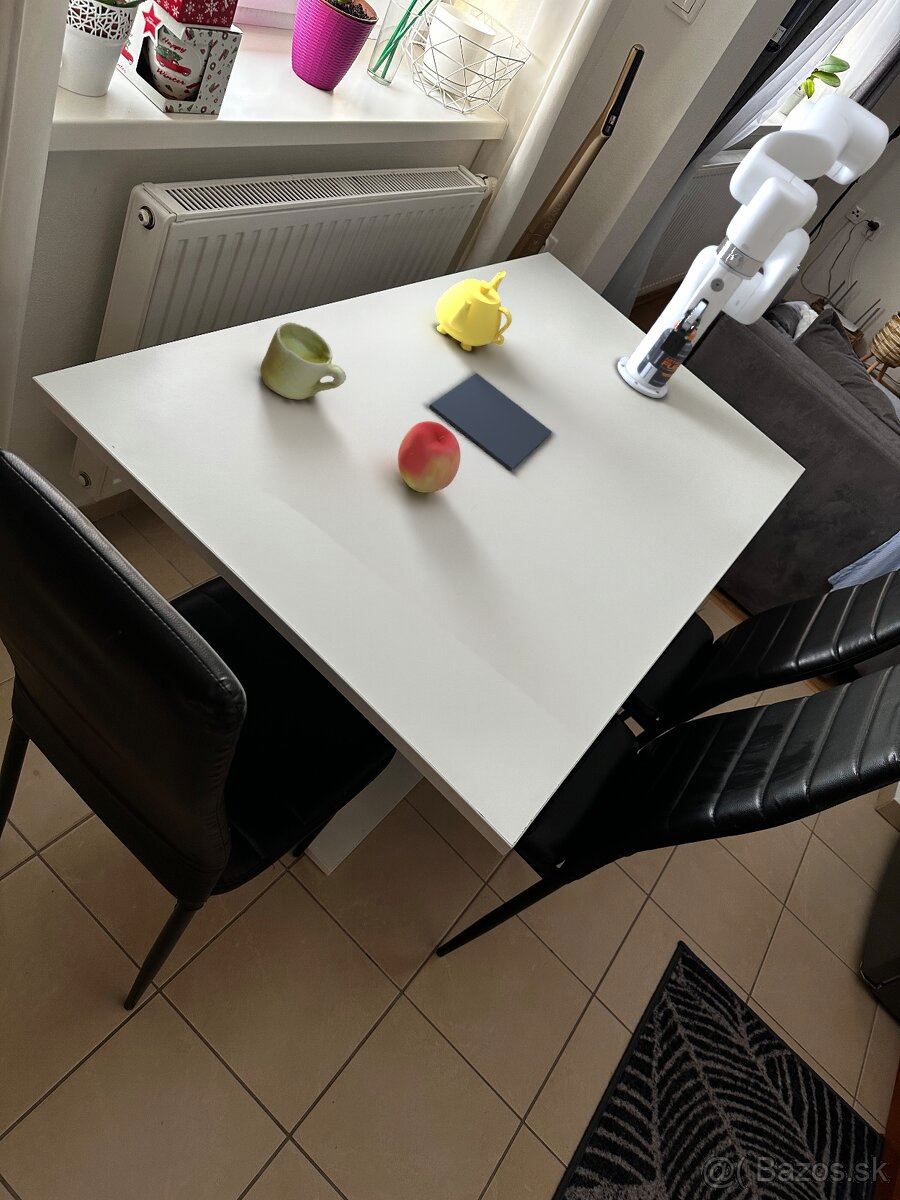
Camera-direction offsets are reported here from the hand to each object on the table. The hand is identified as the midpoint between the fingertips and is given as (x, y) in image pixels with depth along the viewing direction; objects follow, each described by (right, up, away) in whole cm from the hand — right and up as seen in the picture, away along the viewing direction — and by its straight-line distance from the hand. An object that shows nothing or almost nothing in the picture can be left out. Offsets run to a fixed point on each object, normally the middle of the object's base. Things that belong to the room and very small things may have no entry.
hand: (672, 346), depth 151 cm
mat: (-32, -13, +3) cm, 34 cm away
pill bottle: (-3, -4, +5) cm, 7 cm away
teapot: (-37, +7, +17) cm, 41 cm away
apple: (-45, -27, -18) cm, 55 cm away
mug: (-63, -12, -16) cm, 66 cm away
